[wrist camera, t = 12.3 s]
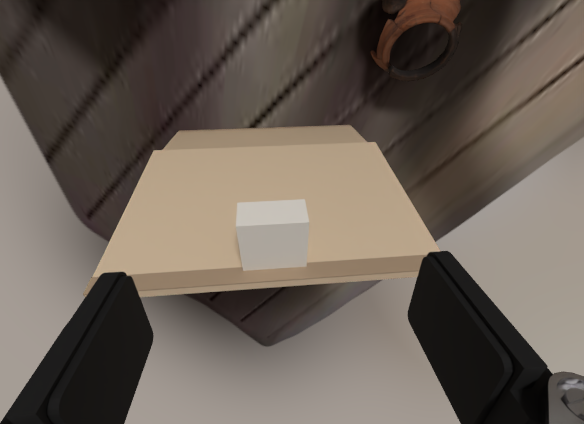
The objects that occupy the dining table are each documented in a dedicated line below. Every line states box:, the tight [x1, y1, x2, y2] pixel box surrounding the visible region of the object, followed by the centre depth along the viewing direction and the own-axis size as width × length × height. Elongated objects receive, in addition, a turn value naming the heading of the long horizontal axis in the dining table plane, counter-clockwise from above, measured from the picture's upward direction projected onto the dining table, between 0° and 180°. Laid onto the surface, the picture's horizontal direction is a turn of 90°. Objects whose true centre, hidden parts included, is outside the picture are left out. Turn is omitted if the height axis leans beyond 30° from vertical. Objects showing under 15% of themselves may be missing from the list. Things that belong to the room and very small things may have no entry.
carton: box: [163, 125, 367, 150], centre depth 39 cm, size 22×16×9 cm
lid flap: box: [83, 142, 440, 297], centre depth 23 cm, size 22×16×5 cm
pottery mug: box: [371, 0, 462, 81], centre depth 32 cm, size 12×10×8 cm
